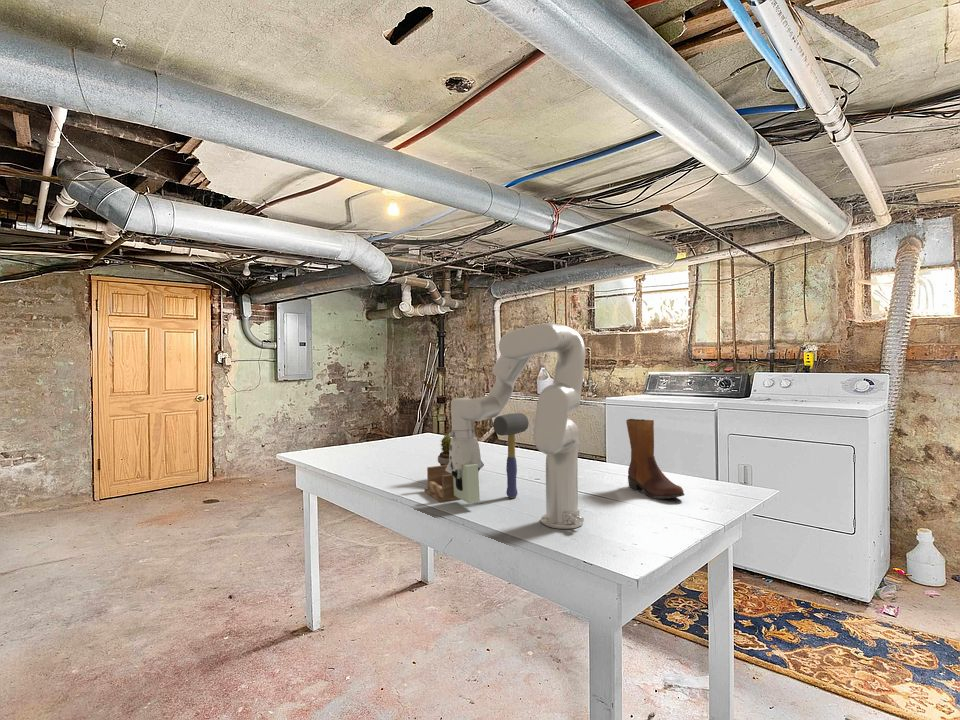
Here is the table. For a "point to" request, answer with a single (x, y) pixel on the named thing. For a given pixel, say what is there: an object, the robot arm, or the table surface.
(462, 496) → the door panel
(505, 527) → the table surface
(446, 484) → the wooden holder
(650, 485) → the boot
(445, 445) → the flowerpot
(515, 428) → the rubber mallet
